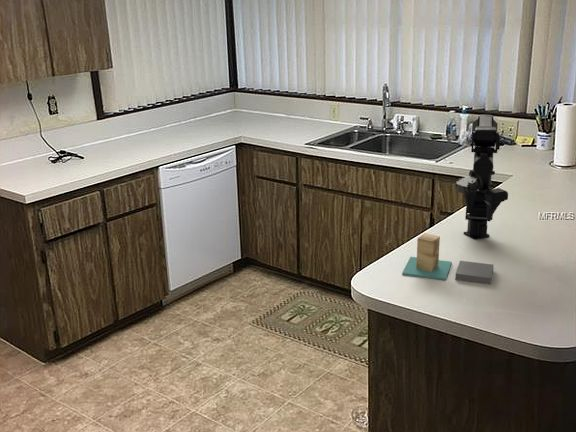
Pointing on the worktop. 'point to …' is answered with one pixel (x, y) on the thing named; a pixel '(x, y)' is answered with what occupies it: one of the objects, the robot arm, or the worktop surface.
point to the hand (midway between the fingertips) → (479, 214)
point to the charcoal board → (474, 272)
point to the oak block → (427, 252)
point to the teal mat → (437, 273)
